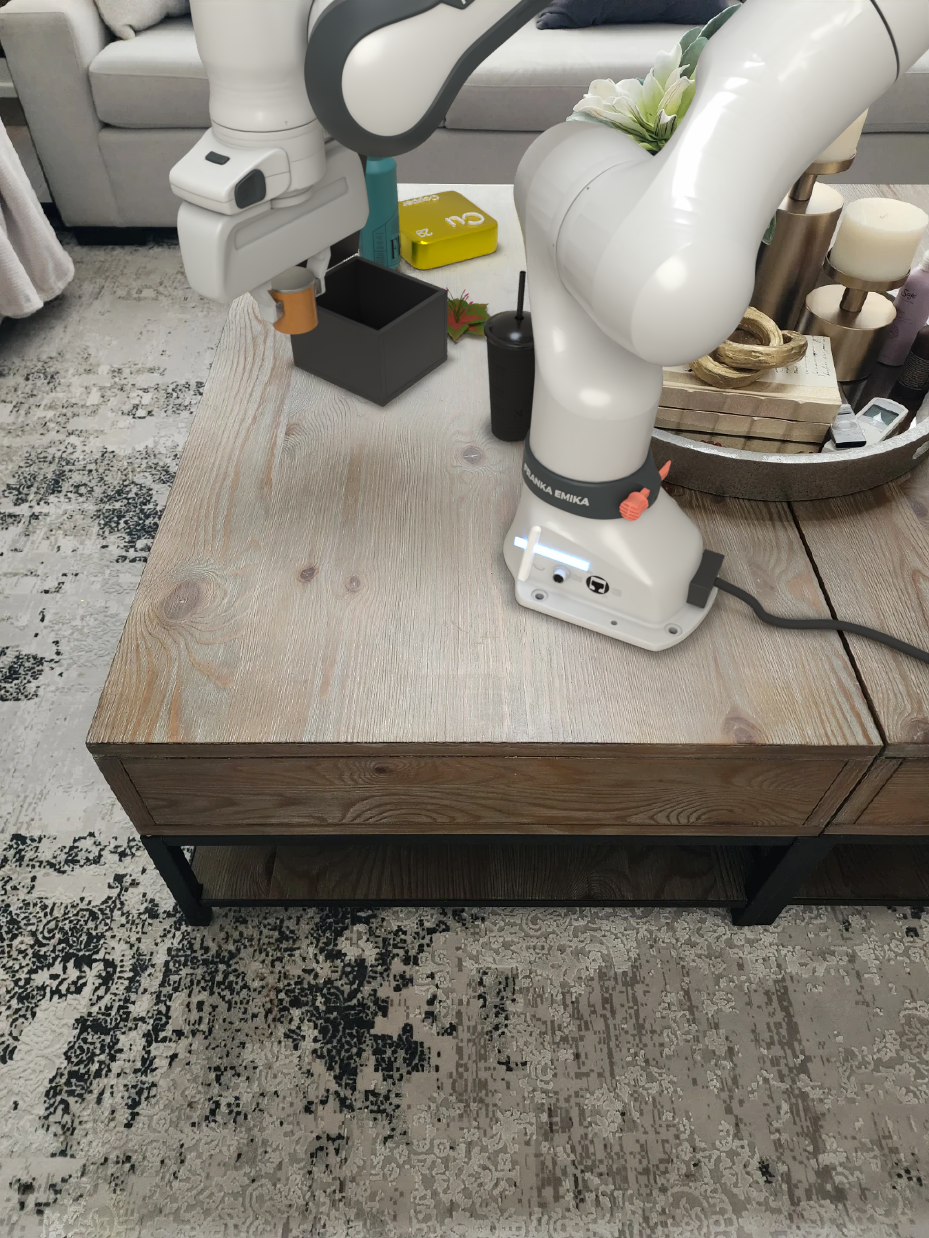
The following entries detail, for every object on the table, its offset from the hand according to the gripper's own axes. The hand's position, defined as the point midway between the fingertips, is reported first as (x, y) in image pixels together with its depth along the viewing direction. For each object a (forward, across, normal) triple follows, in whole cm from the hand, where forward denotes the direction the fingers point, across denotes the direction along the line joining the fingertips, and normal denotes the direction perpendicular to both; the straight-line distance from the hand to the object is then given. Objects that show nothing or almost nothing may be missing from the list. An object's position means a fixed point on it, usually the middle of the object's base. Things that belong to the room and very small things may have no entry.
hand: (293, 306), depth 81 cm
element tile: (+21, -55, -24) cm, 64 cm away
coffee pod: (+2, 0, 0) cm, 2 cm away
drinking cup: (+21, -21, +13) cm, 32 cm away
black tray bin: (+21, -22, -10) cm, 32 cm away
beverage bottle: (+21, -42, -25) cm, 54 cm away
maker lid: (+3, -22, -16) cm, 28 cm away
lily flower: (+21, -37, -7) cm, 43 cm away
